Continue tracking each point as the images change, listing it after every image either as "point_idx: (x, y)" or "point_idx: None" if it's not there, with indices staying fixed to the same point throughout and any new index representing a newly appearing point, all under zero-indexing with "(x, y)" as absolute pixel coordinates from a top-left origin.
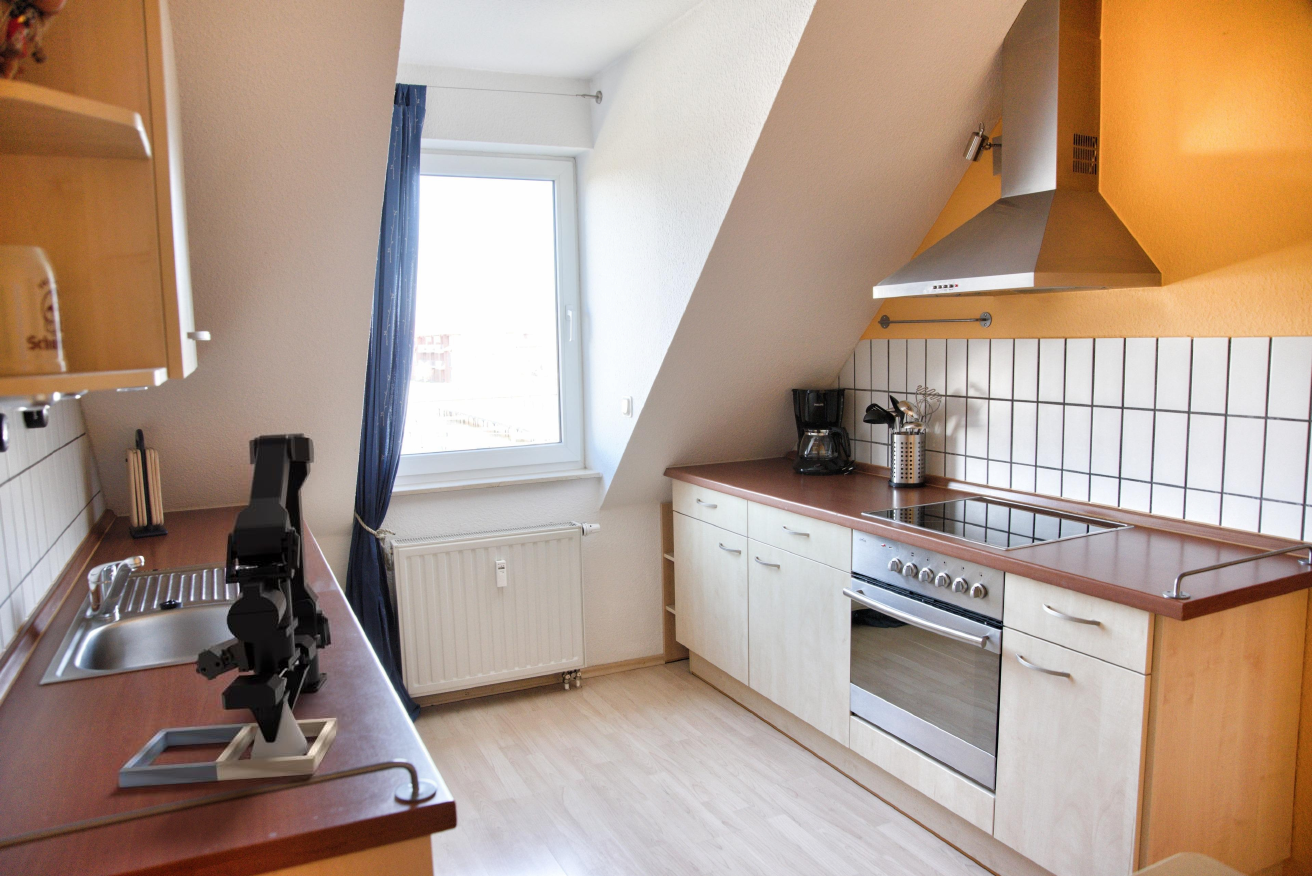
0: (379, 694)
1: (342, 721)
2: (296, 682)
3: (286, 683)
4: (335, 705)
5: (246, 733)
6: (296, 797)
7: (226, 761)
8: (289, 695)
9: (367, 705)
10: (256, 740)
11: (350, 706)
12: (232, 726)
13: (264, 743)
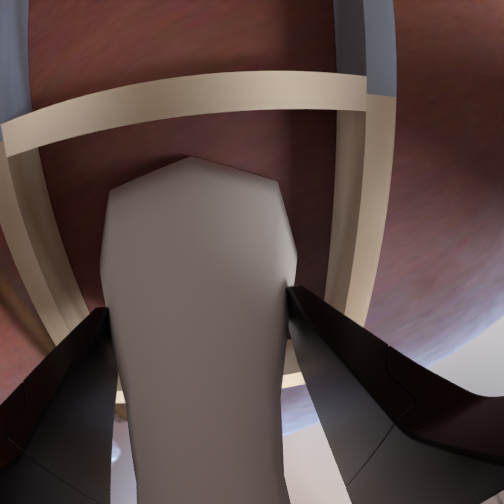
0: (477, 330)
1: (393, 326)
2: (357, 498)
3: (373, 482)
4: (478, 273)
5: (295, 108)
6: (16, 362)
7: (6, 170)
8: (337, 431)
9: (446, 334)
10: (112, 256)
11: (459, 306)
12: (374, 24)
13: (107, 289)
